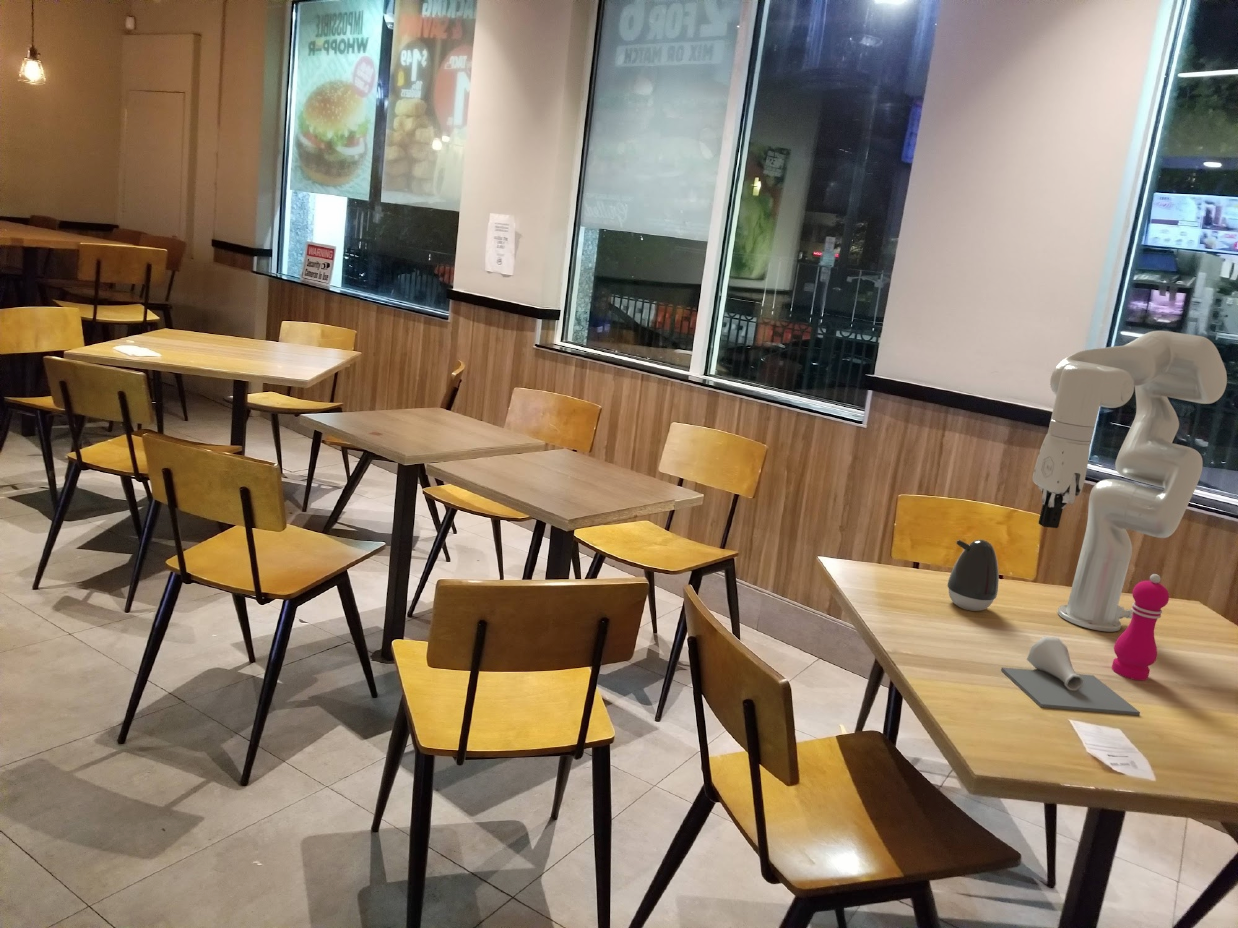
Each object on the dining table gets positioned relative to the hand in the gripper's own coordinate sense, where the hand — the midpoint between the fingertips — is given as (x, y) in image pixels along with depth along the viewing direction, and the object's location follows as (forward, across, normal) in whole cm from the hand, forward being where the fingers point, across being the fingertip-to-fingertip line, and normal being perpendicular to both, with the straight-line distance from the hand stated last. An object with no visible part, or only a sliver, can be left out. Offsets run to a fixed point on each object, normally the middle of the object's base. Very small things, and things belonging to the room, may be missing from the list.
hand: (1048, 525), depth 181 cm
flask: (+22, +10, -1) cm, 24 cm away
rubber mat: (+25, +19, -1) cm, 31 cm away
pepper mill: (+25, +8, +18) cm, 32 cm away
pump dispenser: (+26, -21, -1) cm, 33 cm away
